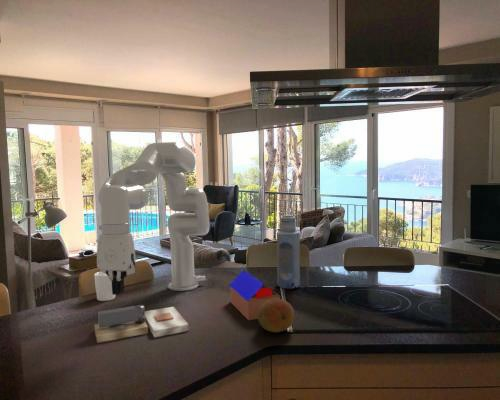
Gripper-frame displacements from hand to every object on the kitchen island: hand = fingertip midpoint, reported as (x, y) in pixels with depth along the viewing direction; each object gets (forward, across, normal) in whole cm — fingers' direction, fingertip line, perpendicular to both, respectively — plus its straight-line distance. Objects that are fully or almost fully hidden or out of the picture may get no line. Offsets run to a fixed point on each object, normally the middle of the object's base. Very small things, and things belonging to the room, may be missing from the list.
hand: (118, 293), depth 112 cm
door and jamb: (+14, 0, +11) cm, 18 cm away
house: (+14, +30, +36) cm, 49 cm away
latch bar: (+12, -4, +7) cm, 15 cm away
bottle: (+14, +36, +66) cm, 77 cm away
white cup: (+14, -30, +34) cm, 47 cm away
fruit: (+14, +41, +19) cm, 48 cm away
